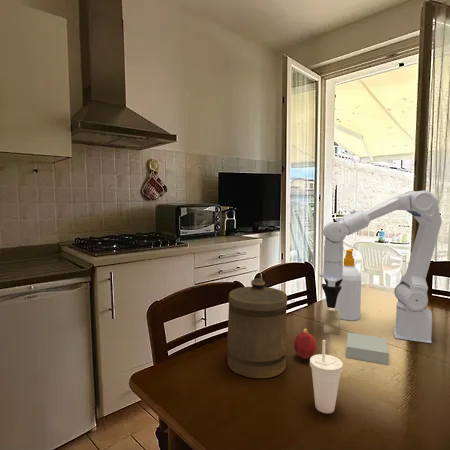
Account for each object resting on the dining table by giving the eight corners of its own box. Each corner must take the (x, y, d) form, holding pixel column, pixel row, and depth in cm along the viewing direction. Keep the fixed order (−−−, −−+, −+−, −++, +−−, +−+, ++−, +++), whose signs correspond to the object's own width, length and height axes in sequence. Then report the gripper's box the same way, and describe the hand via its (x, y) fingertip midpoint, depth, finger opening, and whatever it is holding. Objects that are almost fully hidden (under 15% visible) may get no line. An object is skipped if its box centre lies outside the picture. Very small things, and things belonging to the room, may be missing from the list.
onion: (316, 365, 84) (317, 334, 84) (293, 363, 86) (294, 332, 85) (315, 354, 90) (316, 326, 89) (293, 352, 91) (294, 324, 91)
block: (339, 329, 108) (340, 311, 107) (338, 334, 103) (339, 315, 103) (325, 327, 109) (325, 309, 109) (323, 332, 105) (324, 314, 105)
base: (385, 348, 94) (386, 337, 94) (388, 364, 85) (388, 353, 85) (347, 342, 98) (348, 332, 98) (346, 357, 89) (346, 346, 88)
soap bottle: (362, 314, 121) (365, 249, 119) (357, 322, 113) (359, 252, 111) (338, 310, 126) (340, 247, 124) (331, 317, 118) (333, 250, 116)
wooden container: (290, 355, 90) (291, 274, 88) (280, 384, 76) (282, 289, 74) (237, 347, 95) (237, 270, 93) (219, 372, 81) (219, 283, 79)
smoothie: (304, 398, 71) (305, 334, 69) (333, 397, 71) (335, 333, 70) (315, 418, 64) (316, 348, 63) (347, 416, 65) (349, 346, 64)
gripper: (321, 256, 112) (320, 296, 113) (317, 264, 99) (316, 309, 100) (344, 257, 110) (342, 298, 111) (343, 266, 96) (341, 312, 97)
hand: (331, 303), depth 105 cm, fingers open, 7 cm apart
